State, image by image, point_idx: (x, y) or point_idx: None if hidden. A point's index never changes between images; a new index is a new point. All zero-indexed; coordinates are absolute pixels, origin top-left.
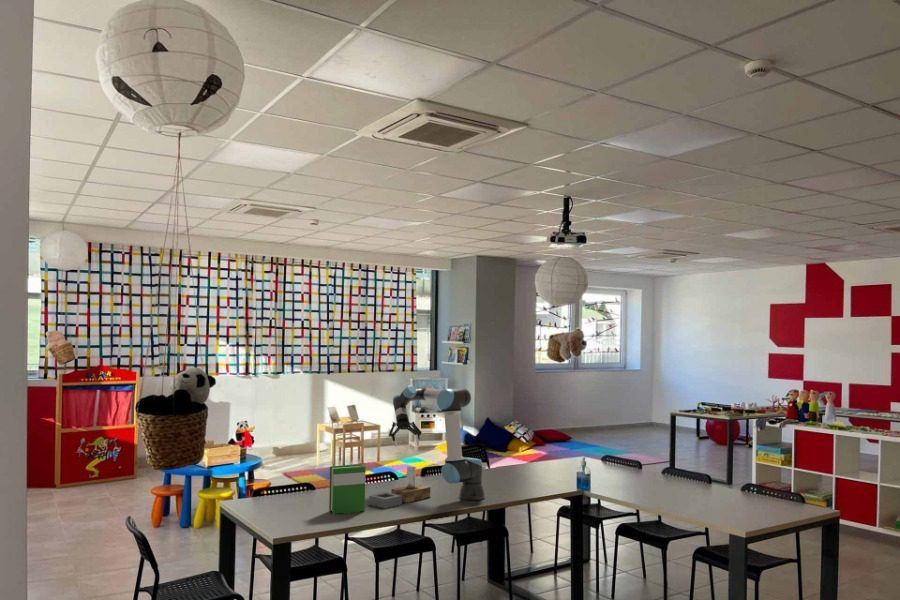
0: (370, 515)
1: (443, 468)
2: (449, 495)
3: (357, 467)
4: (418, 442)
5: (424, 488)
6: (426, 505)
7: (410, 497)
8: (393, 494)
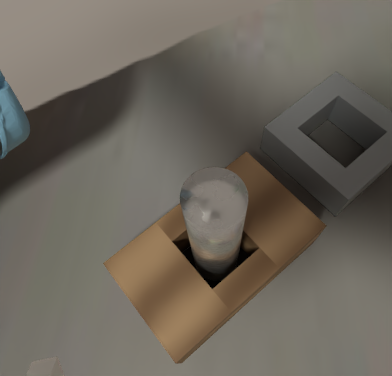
0: (362, 24)
1: (4, 79)
2: (9, 315)
3: None
4: (41, 366)
5: (141, 233)
6: (159, 134)
7: None
8: (305, 151)
